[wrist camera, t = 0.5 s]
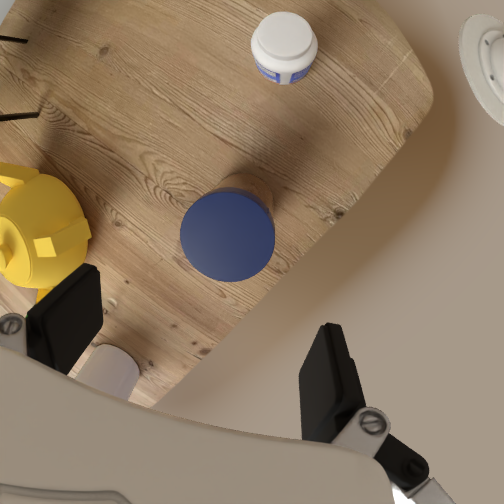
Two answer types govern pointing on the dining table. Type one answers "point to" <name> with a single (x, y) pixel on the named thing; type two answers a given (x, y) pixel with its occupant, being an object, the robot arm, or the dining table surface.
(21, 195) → the teapot
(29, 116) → the planter
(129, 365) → the soap bottle
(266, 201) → the jam jar
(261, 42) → the pill bottle
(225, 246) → the jar lid
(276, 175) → the dining table surface
